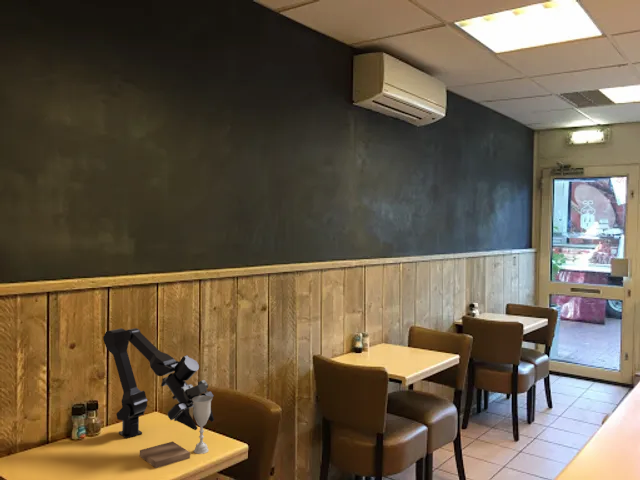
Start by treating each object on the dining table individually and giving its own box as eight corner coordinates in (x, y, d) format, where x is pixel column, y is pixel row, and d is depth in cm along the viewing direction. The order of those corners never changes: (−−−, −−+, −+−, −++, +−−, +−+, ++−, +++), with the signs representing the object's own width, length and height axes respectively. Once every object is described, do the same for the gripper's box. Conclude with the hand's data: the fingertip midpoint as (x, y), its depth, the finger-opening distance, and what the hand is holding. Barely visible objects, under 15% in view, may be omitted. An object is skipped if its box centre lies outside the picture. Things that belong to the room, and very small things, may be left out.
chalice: (206, 456, 184) (207, 402, 183) (187, 453, 185) (188, 400, 185) (214, 447, 191) (215, 396, 191) (196, 445, 192) (197, 394, 192)
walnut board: (139, 456, 182) (139, 450, 182) (172, 447, 191) (172, 441, 191) (155, 468, 174) (156, 461, 174) (189, 458, 182) (190, 452, 182)
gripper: (175, 380, 181) (201, 419, 176) (209, 368, 198) (234, 403, 193) (156, 400, 184) (181, 439, 180) (191, 387, 201) (216, 422, 197)
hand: (204, 425), depth 187 cm, fingers open, 9 cm apart
